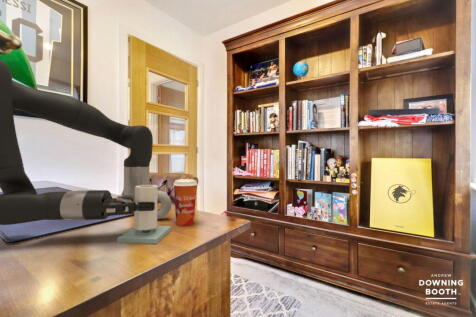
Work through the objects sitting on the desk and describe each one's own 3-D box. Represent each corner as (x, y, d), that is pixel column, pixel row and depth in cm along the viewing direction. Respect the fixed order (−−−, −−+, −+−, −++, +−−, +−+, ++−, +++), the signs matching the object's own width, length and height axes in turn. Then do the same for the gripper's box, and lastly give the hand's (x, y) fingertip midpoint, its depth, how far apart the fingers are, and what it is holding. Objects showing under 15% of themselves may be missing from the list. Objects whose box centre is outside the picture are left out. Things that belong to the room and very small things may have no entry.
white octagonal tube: (137, 224, 62) (138, 184, 62) (158, 223, 63) (158, 184, 63) (132, 230, 56) (133, 187, 56) (154, 229, 57) (155, 187, 57)
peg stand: (138, 229, 65) (138, 201, 65) (171, 230, 64) (171, 202, 64) (117, 242, 55) (117, 209, 55) (156, 244, 54) (156, 210, 54)
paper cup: (172, 228, 66) (173, 181, 66) (172, 220, 74) (173, 179, 74) (198, 226, 69) (199, 181, 68) (196, 219, 76) (197, 178, 76)
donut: (172, 217, 77) (172, 189, 77) (170, 220, 74) (170, 191, 74) (142, 218, 76) (142, 189, 76) (139, 221, 73) (139, 191, 72)
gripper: (72, 195, 50) (151, 194, 53) (99, 186, 64) (160, 186, 67) (72, 228, 50) (151, 225, 53) (99, 212, 64) (160, 210, 67)
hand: (156, 203), depth 60 cm, fingers closed on white octagonal tube, 5 cm apart
